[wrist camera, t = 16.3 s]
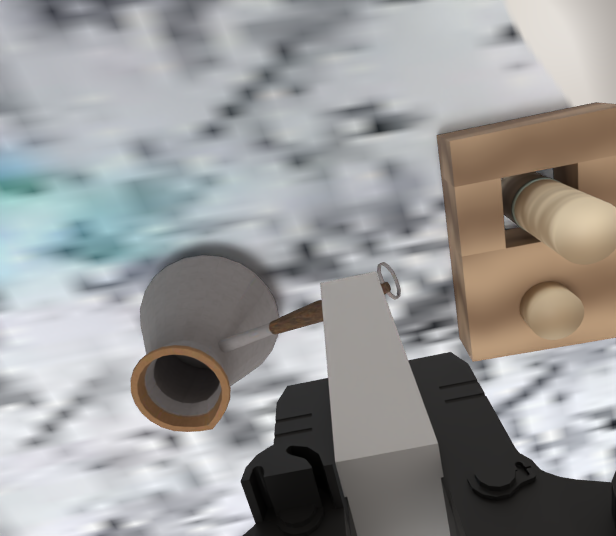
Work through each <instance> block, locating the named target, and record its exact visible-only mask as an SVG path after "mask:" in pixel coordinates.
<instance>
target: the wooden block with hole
mask: <svg viewBox="0 0 616 536" xmlns="http://www.w3.org/2000/svg"><path fill="white" fill-rule="evenodd" d="M437 143H438V151H439V160H440V169H441V178H442V187H443V196H444V204H445V213H446V222H447V231H448V240H449V248H450V257H451V266H452V275H453V284H454V293H455V301H456V310H457V319H458V328H459V337H460V340H461V341H462V343H463V345H464V347H465V349H466V350H467V352H468V354H469V356H470V357H471V359H472V361H473V362H474V361H480V360H486V359H491V358H497V357H503V356H509V355H515V354H521V353H527V352H533V351H539V350H545V349H551V348H557V347H563V346H569V345H574V344H580V343H586V342H592V341H598V340H604V339H610V338H616V249H615V250H614V251H613V252H612V253H611V254H610V255H609V256H608V257H606V258H605V259H603V260H601V261H599V262H596V263H593V264H587V265H580V264H575V263H572V262H570V261H568V260H566V259H565V258H563V257H562V256H561V255H559V254H558V253H556V252H555V251H554V250H552V249H551V248H550V247H548V246H547V245H545V244H544V243H543V242H541V241H540V240H538V239H537V238H536V237H534V236H533V235H531V234H530V233H529V232H527V231H525V230H523V229H522V228H520V227H519V228H514V229H508V230H505V229H504V215H503V201H502V188H501V178H504V177H509V176H514V175H519V174H524V173H529V172H534V171H539V170H544V169H550V168H553V171H554V179H555V180H557V181H559V182H561V183H562V184H565V185H567V186H569V187H572V188H574V189H577V190H579V191H581V192H584V193H586V194H588V195H591V196H593V197H596V198H598V199H600V200H603V201H605V202H607V203H610V204H612V205H613V206H615V207H616V104H607V103H591V104H586V105H581V106H577V107H572V108H567V109H562V110H557V111H552V112H547V113H542V114H538V115H533V116H528V117H523V118H518V119H513V120H508V121H504V122H499V123H494V124H489V125H484V126H479V127H474V128H470V129H465V130H460V131H455V132H450V133H445V134H440V135H437Z"/></svg>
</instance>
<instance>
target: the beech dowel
mask: <svg viewBox="0 0 616 536" xmlns="http://www.w3.org/2000/svg"><path fill="white" fill-rule="evenodd" d="M501 188H502V201H503V215H505V216H506V217H508V218H509V219H510V220H512V221H513V222H515V223H516V224H517V225H518V226H519V227H520V228H522V229H523V230H525V231H527V232H529V233H530V234H531V235H533V236H534V237H536V238H537V239H538V240H540V241H541V242H543V243H544V244H545V245H547V246H548V247H550V248H551V249H552V250H554V251H555V252H556V253H558V254H559V255H561V256H562V257H563V258H565V259H566V260H568V261H570V262H572V263H575V264H580V265H587V264H593V263H596V262H599V261H601V260H603V259H605V258H606V257H608V256H609V255H610V254H611V253H612V252H613V251H614V250H615V249H616V207H615V206H613V205H612V204H610V203H607V202H605V201H603V200H600V199H598V198H596V197H593V196H591V195H588V194H586V193H584V192H581V191H579V190H577V189H574V188H572V187H569V186H567V185H565V184H562V183H561V182H559V181H557V180H555V179H552V178H548V177H546V176H543V175H541V174H539V173H536V172H529V173H524V174H519V175H514V176H509V177H504V178H503V179H502V180H501Z"/></svg>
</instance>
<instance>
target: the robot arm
mask: <svg viewBox="0 0 616 536" xmlns="http://www.w3.org/2000/svg"><path fill="white" fill-rule="evenodd" d="M320 285H321V297H322V309H323V321H324V333H325V345H326V358H327V370H328V378H326V379H321V380H316V381H310V382H305V383H300V384H295V385H290V386H287V387H286V389H285V391H284V392H283V394H282V395H281V397H280V399H279V400H278V402H277V407H276V424H275V433H274V435H275V438H274V445H272V446H270V447H269V448H267V449H266V450H264V451H262V452H261V453H259V454H258V455H256V457H255V458H254V459H253V460H252V461H251V462H250V463H249V465H248V466H247V467H246V469H245V471H244V474H243V476H242V479H241V484H242V487H243V489H244V492H245V495H246V498H247V501H248V503H249V506H250V509H251V512H252V515H253V517H254V520H255V523H256V524H255V525H254V526H253V527H252V528H251V529H250V530H249V531H248V532H246V533H245V534H244V535H243V536H616V472H615V474H614V477H613V479H612V482H599V481H587V480H575V479H569V478H563V477H559V476H556V475H553V474H550V473H547V472H544V471H542V470H540V469H539V467H538V466H537V465H536V464H535V463H534V462H533V461H532V460H531V459H529V458H527V457H526V456H524V455H522V454H520V453H519V452H518V451H517V450H516V448H515V447H514V445H513V443H512V441H511V439H510V438H509V436H508V434H507V432H506V430H505V429H504V427H503V425H502V423H501V422H500V420H499V418H498V416H497V414H496V413H495V411H494V409H493V407H492V406H491V404H490V402H489V400H488V398H487V397H486V396H485V394H484V391H483V390H482V388H481V386H480V384H479V383H478V382H477V379H476V377H475V375H474V373H473V372H472V370H471V368H470V366H469V365H468V363H466V362H465V361H463V360H462V359H460V358H459V357H457V356H456V355H454V354H453V353H451V352H448V353H443V354H438V355H433V356H428V357H423V358H418V359H413V360H408V359H407V356H406V353H405V351H404V348H403V345H402V342H401V339H400V337H399V334H398V331H397V328H396V326H395V323H394V320H393V317H392V315H391V312H390V309H389V306H388V304H387V301H386V298H385V295H384V293H383V290H382V287H381V284H380V281H379V279H378V276H377V273H376V271H375V272H371V273H366V274H361V275H356V276H352V277H347V278H342V279H337V280H333V281H328V282H323V283H320Z"/></svg>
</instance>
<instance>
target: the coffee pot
mask: <svg viewBox="0 0 616 536" xmlns="http://www.w3.org/2000/svg"><path fill="white" fill-rule="evenodd" d="M381 265H383V266H385V267H386V268H387V269H388V270H389V271H390V273H391V274H392V276H393V278H394V281H395V283H396V287H397V296H394V295H393V294H392V293H391V292H390V290H391V288H390V285H389V283H388V282H384V280H383V277H382V274H381ZM377 273H378V276H379V280H380V282H381V283H380V284H381V287H382V290H383V293H384V295H385V294H386V293H387V294H388V295H389V296H390V297H391V298H393V299H398V298H399V297H400V292H401V289H400V285H399V282H398V279H397V277H396V275H395V273H394V271H393V270H392V269H391V267H390V266H389V265H388V264H386V263H384V262H382V263H380V264H379V265H378V268H377ZM140 321H141V329H142V334H143V339H144V344H145V349H146V354H147V355H145V356H144V357H143V358H142V359H140V361H139V362H138V364H137V365H136V367H135V368H134V370H133V373H132V377H131V394H132V397H133V399H134V402H135V404H136V406H137V407H138V409H139V410H140V411H141V413H142V414H143V415H144V416H145V417H147V418H148V419H149V420H150V421H151V422H153V423H155V424H157V425H159V426H160V427H163V428H166V429H169V430H173V431H183V432H193V431H204V430H210V429H213V428H214V427H215V425H216V424H217V423H218V422H219V420H220V419H221V417H222V416H223V414H224V412H225V411H226V409H227V406H228V403H229V401H230V386H231V385H233V384H234V383H236V382H237V381H239V380H240V379H242V378H243V377H245V376H246V375H247V374H249V373H250V372H252V371H253V370H254V369H256V368H257V367H258V366H260V365H261V364H262V363H263V362H264V360H265V359H266V358H267V357H268V355H269V354H270V353H271V351H272V350H273V347H274V344H275V342H276V339H277V337H278V334H279V333H283V332H286V331H290V330H293V329H297V328H301V327H304V326H308V325H311V324H315V323H319V322H322V321H323V309H322V300H319V301H316V302H314V303H311V304H309V305H307V306H305V307H302V308H300V309H298V310H296V311H293V312H291V313H289V314H287V315H285V316H282V317H280V318H279V315H278V310H277V306H276V302H275V300H274V298H273V296H272V294H271V292H270V290H269V288H268V287H267V285H266V284H265V283H264V282H263V281H262V280H261V279H260V278H259V277H258V276H257V275H256V273H254V272H253V271H251V270H250V269H248V268H247V267H245V266H243V265H242V264H240V263H238V262H235V261H232V260H230V259H227V258H224V257H219V256H207V255H200V256H194V257H188V258H184V259H182V260H179V261H177V262H175V263H173V264H171V265H168V266H167V267H165V268H164V269H163V270H162V271H161V272H160V273H158V274H157V275H156V276H155V277H154V278H153V279H152V281H151V283H150V284H149V286H148V287H147V289H146V290H145V293H144V296H143V300H142V304H141V308H140Z"/></svg>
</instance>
